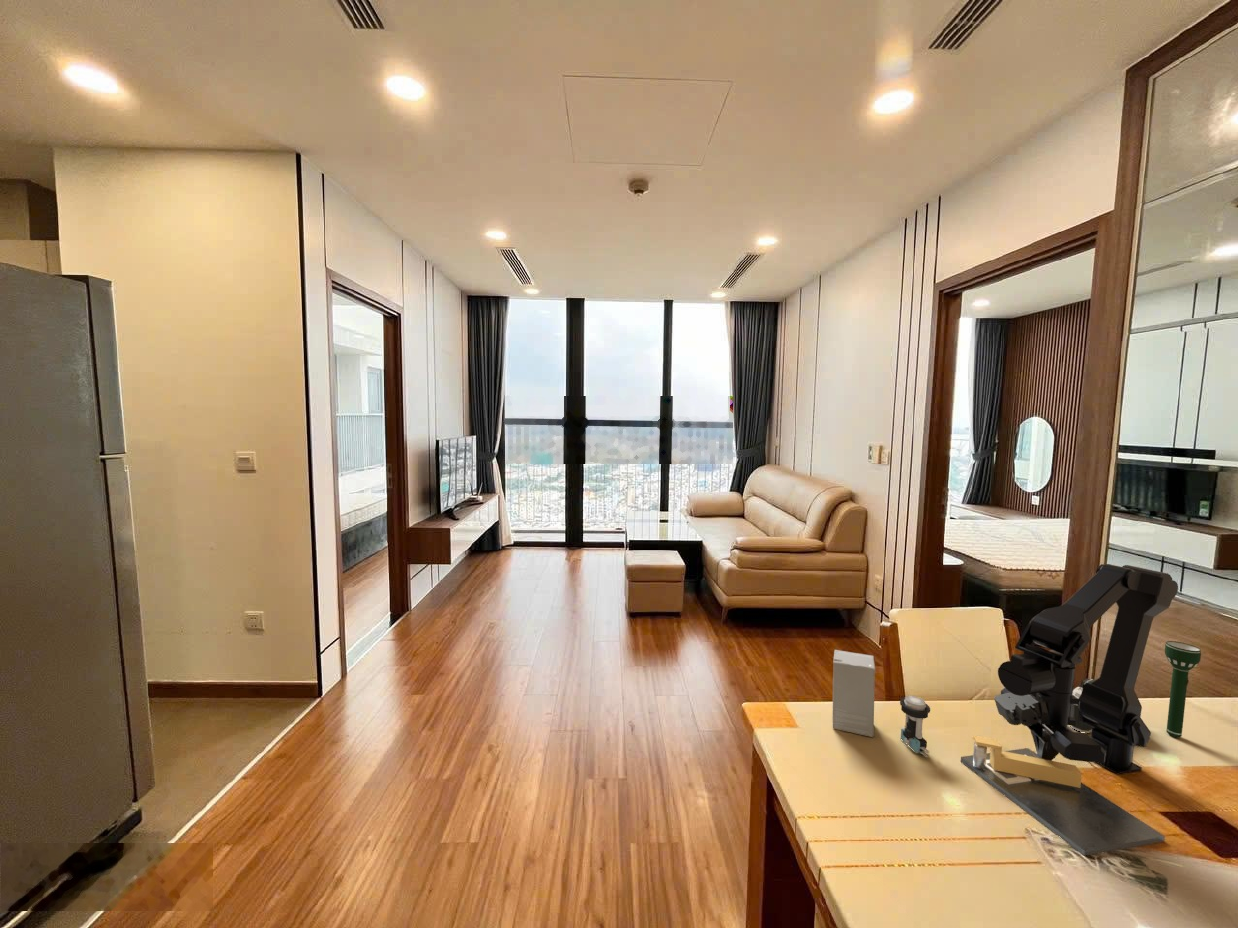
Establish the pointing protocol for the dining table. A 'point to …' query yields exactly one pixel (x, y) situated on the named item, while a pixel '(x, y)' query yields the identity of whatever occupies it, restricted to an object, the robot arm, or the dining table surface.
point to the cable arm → (1030, 765)
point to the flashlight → (1179, 681)
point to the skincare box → (853, 692)
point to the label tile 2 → (1007, 775)
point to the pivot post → (979, 757)
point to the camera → (1075, 712)
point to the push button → (914, 723)
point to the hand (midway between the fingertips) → (1043, 763)
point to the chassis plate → (1073, 812)
